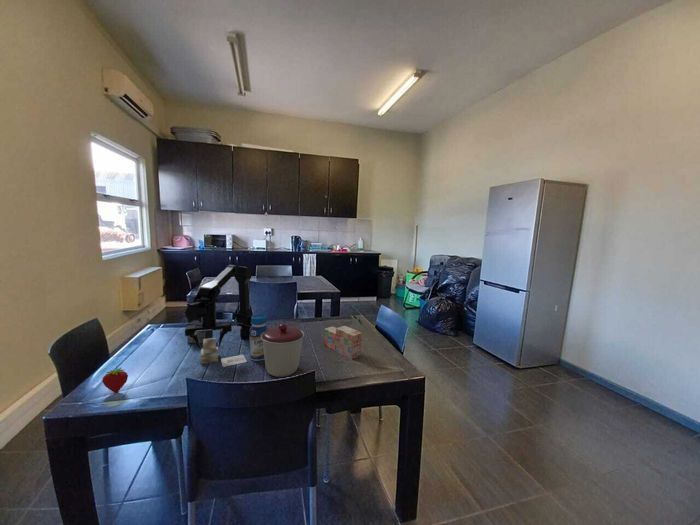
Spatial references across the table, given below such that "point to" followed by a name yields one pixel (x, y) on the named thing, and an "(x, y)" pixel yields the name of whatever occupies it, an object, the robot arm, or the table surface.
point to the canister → (282, 349)
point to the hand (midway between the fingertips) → (209, 346)
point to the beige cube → (209, 345)
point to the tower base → (209, 357)
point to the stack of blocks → (343, 340)
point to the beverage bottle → (257, 337)
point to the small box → (199, 333)
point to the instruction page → (233, 360)
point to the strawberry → (115, 379)
